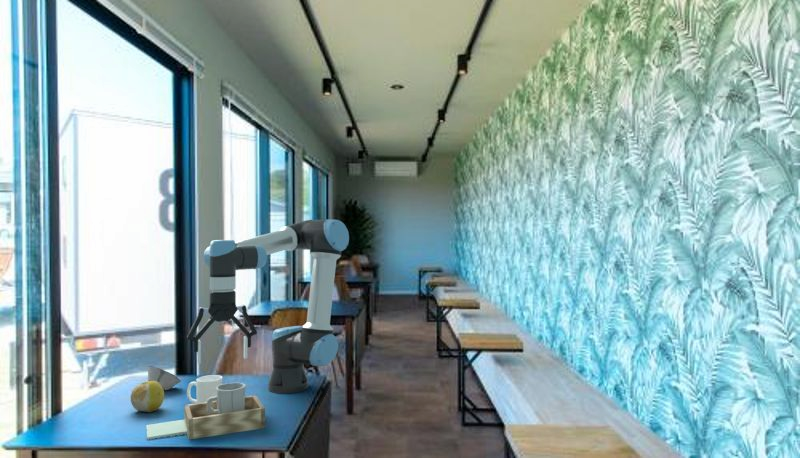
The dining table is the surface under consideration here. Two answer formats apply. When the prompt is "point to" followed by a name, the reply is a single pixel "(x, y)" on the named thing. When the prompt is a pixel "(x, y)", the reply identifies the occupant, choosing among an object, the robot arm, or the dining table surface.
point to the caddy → (223, 419)
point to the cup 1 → (204, 388)
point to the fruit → (147, 396)
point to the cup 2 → (228, 398)
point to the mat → (166, 429)
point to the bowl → (162, 377)
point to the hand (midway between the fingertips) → (222, 360)
